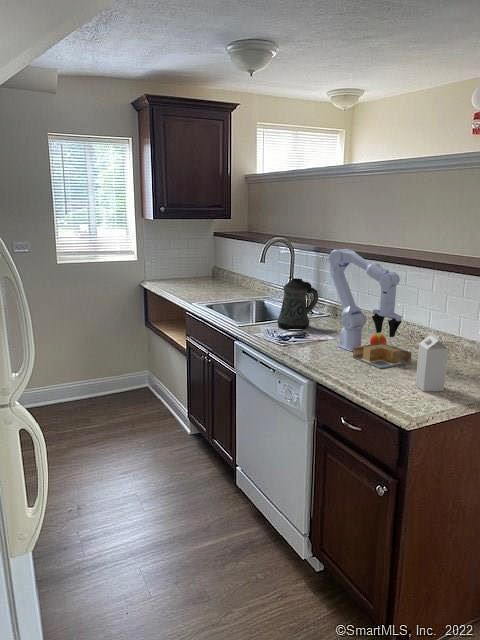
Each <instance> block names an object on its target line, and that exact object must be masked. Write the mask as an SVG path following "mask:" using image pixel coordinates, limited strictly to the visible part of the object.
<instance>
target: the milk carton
mask: <svg viewBox="0 0 480 640" xmlns="http://www.w3.org/2000/svg"><path fill="white" fill-rule="evenodd" d="M448 355H449V348H448V347H446V345H445V344H443V343H442V342H441V341H440V336H438V335H436V334H434V333H433V332H432V331H430V332H429V335H428V336H427V337H426V338H424V339H423V340H422V341H420V342H419V343H418V355H417V363H416V375H415V376H416V377H415V385H416V386H417V387H418V388H419V389H420V390H421V391H422V392H444V391H445V384H446V375H447V365H448V363H447V362H448Z"/></svg>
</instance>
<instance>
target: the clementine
mask: <svg viewBox="0 0 480 640" xmlns="http://www.w3.org/2000/svg"><path fill="white" fill-rule="evenodd" d="M369 343H370V344H369V345H371V344H378V343H386V344H387V339H386V337H385V335H384V334H382V333H374V334H373V335H372V336H371V337H370V341H369Z"/></svg>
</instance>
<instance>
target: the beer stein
mask: <svg viewBox="0 0 480 640" xmlns="http://www.w3.org/2000/svg"><path fill="white" fill-rule="evenodd" d="M282 289H283V298H282V304H281V309H280V312H279V315H278V318H277V327H278V329H281V328H283V329H282V330H284V329H305V330H307V329H309V327H310V326H309V325H310V319H309V316H308V313H309V312H311V311H312V310H313V309H314V308H315V306H316V305H317V303H318V300H319V293H318V292H319V291H318V290H317V289H316V288H315V287H313V286H312V284H311V283H310V282H309V281H304V280H303V279H302V278H296V277H294V278H291V280H290V281H289V282H287V283H286V284H285V285H284V286H283V287H282ZM306 294H312V295H313V299H312V301H311V302H310V304H309V305H308V306H307V297H306V296H307V295H306ZM306 328H307V329H306Z"/></svg>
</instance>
